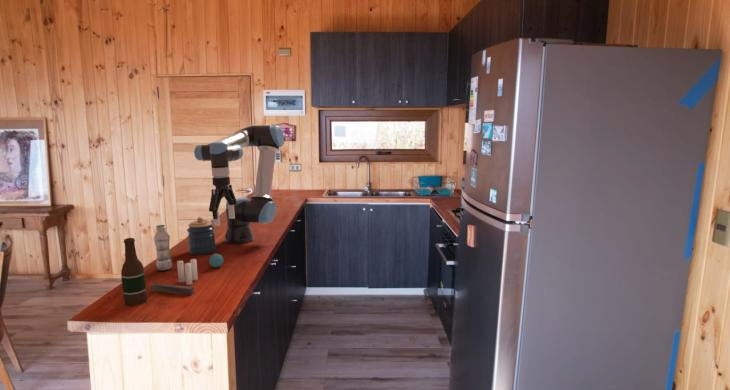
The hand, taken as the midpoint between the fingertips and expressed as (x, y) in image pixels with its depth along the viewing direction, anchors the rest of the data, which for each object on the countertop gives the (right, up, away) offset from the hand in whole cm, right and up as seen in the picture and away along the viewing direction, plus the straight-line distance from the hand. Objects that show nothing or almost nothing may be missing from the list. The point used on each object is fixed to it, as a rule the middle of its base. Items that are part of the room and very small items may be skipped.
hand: (224, 222), depth 205 cm
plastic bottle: (-24, -21, -7) cm, 33 cm away
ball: (-2, -17, -6) cm, 18 cm away
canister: (-17, -16, +19) cm, 31 cm away
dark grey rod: (-9, -25, -34) cm, 43 cm away
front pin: (-6, -23, -20) cm, 31 cm away
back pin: (-11, -23, -22) cm, 34 cm away
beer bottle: (-19, -27, -42) cm, 54 cm away
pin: (-6, -24, -25) cm, 35 cm away
